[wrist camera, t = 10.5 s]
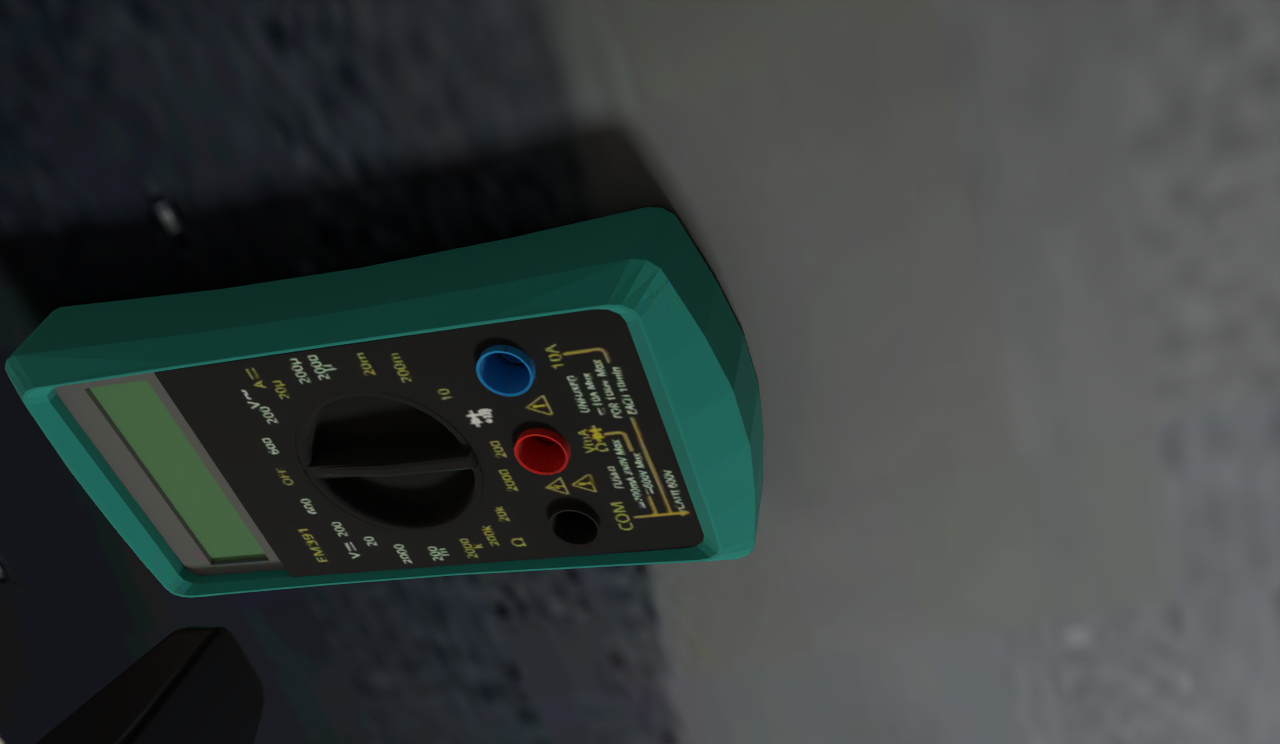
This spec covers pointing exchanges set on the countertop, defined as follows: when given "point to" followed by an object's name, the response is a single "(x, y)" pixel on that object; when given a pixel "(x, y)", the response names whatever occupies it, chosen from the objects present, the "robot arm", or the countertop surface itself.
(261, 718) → the robot arm
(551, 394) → the digital multimeter
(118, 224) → the countertop surface
